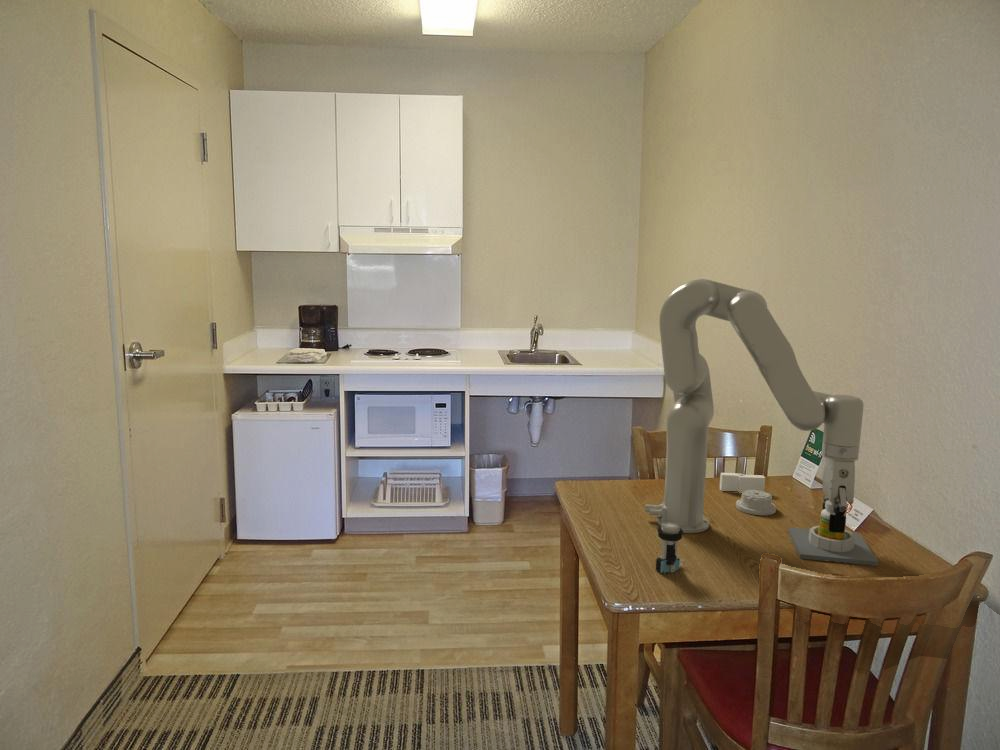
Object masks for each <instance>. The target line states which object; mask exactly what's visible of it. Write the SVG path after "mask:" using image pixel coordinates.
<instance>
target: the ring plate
mask: <svg viewBox="0 0 1000 750" xmlns="http://www.w3.org/2000/svg"><path fill="white" fill-rule="evenodd" d="M787 529H788V530H787V532H788V534H789V536H790V539H791V541H792V544H793V545H794V548H795V551H796V553H797V555H798V558H799V559H803V560H811V559H812V561H821V560H828V561H827V562H831V561H837V562H836V563H841V562H843V563H844V564H851V565H852V564H853V565H861V566H862V565H863V566H871V567H872V566H874V567H879V560H878V559H877V557H876V556H875V554H874V553H873V551H872V550H871V547H869V545H868V544H867V542H866V541H865V539H864V538H863V537H862V535H861V533H857V532H856V533H854V532H851V531H848V530H846V529H845V533H844V540H833V539H828V538H824V537H821V536H819V535H818V531H819V525H814V526H812V527H810V528H801V527H791V526H789V527H787ZM843 563H842V564H843Z"/></svg>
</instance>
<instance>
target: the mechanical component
mask: <svg viewBox="0 0 1000 750" xmlns="http://www.w3.org/2000/svg"><path fill="white" fill-rule="evenodd" d="M772 499H773V496H772V495H771V493H769V492H766V491H764V492H763V491H758V490H747V491H743V492H742V494H741V498H740V499H739V498H738V500H736V501H735V507H736V509H737V510H739V511H740V512H743V513H745V514H750V515H755V516H770V515H773V514H775V513H776V511H777V506H776V505H775V504H774V503H773V502H772V501H773V500H772Z"/></svg>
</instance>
